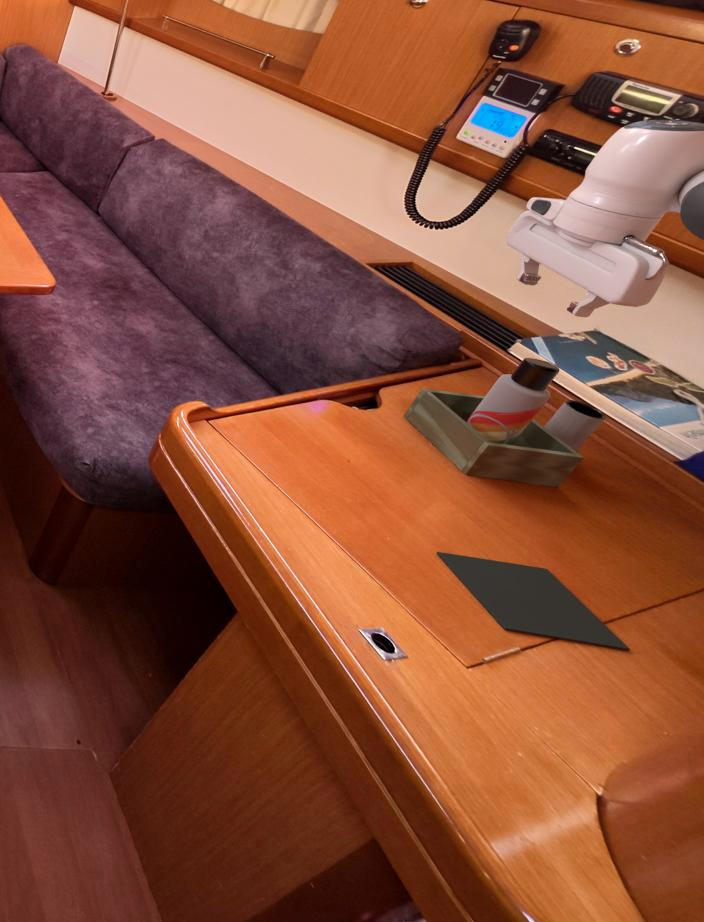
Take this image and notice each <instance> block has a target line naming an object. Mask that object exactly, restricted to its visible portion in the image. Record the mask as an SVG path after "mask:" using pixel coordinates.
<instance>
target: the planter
mask: <svg viewBox="0 0 704 922" xmlns="http://www.w3.org/2000/svg"><path fill="white" fill-rule="evenodd" d="M606 419H607V415H606V413H604V412H603V411H601V410H600V409H598V408H596V407H595V406H592V405H590V404H588V403H585V402H582V401H579V400H574V399H567V400H565V401H564V402H563V403H562V404H561V406H559V408H558V409H557V410H556V412H555V413H554V414H553V416H552V417H550V419H549V420H548V421H547V422H546V423H545V425H544V426H543V427H544V428H546V429H547V430H548V431H550V432H551V433H552V434H554V435H555V436H556V437H558V438H559V439H560V440H561V441H563V442H564V443H565V444H567V445H568V446H569V447H571V448H572V449H573V450H575V451H576V452H577V453H578V451H579V450H580V449H581V448H582V447H583V446H584V444H585V443H586V442H587V441H588V440H589V439H590V438H591V437H592V435H593V434H594V433H595V432H596V431H597V429H599V427H600V426H601V425H602V424H603V423H604V422H605V420H606Z"/></svg>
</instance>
